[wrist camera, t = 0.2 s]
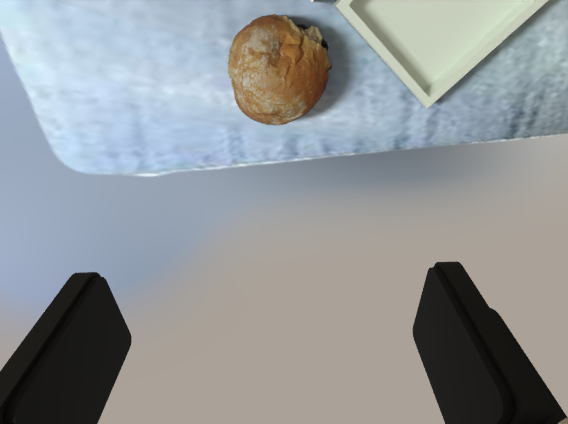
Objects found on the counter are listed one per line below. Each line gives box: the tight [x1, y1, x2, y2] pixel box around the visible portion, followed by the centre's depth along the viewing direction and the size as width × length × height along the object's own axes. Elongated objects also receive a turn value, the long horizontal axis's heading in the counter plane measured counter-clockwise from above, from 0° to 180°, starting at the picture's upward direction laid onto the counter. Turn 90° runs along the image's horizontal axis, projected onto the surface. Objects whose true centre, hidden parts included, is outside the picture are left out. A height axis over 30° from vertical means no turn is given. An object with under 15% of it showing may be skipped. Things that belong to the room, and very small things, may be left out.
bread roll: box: [228, 14, 332, 125], centre depth 33 cm, size 10×10×8 cm
